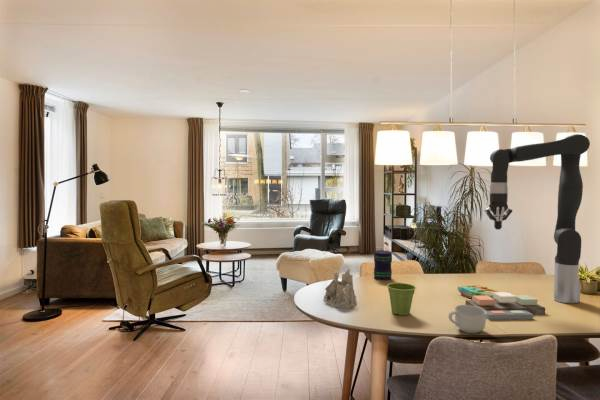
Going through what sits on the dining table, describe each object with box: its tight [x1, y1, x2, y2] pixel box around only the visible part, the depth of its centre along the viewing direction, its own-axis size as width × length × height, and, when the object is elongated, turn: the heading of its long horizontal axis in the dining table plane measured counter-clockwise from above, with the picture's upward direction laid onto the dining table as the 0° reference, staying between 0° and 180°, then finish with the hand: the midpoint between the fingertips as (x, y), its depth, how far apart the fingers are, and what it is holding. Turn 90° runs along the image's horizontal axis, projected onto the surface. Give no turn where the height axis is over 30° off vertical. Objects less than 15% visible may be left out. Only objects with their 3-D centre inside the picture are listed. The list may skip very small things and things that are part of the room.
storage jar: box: [373, 250, 393, 281], centre depth 234 cm, size 10×10×15 cm
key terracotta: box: [471, 295, 495, 306], centre depth 177 cm, size 6×6×2 cm
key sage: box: [513, 294, 538, 305], centre depth 177 cm, size 6×6×2 cm
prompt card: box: [486, 310, 534, 321], centre depth 167 cm, size 18×5×2 cm, turn 92°
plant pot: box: [386, 282, 417, 316], centre depth 172 cm, size 12×12×11 cm
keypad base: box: [464, 299, 546, 315], centre depth 177 cm, size 28×12×2 cm, turn 92°
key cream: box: [493, 291, 516, 302], centre depth 177 cm, size 6×6×2 cm
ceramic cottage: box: [323, 268, 358, 309], centre depth 187 cm, size 16×16×15 cm
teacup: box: [448, 304, 487, 334], centre depth 152 cm, size 14×11×8 cm
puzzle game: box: [457, 284, 499, 300], centre depth 194 cm, size 12×5×20 cm
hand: (497, 229), depth 196 cm, fingers closed
